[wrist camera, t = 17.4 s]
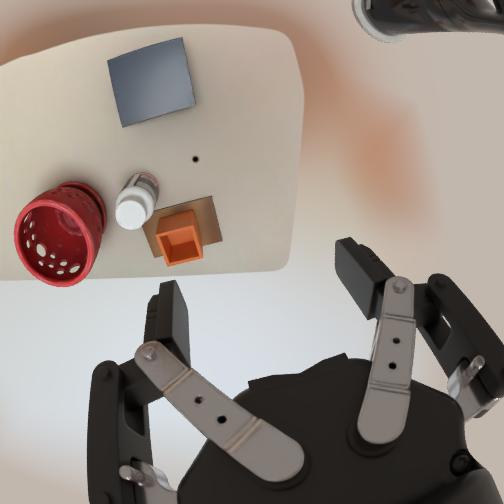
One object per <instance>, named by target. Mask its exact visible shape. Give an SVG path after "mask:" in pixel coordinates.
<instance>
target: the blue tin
mask: <svg viewBox="0 0 504 504" xmlns="http://www.w3.org/2000/svg"><path fill="white" fill-rule="evenodd" d="M107 62H108V67H109V72H110V77H111V82H112V86H113V91H114V95H115V100H116V104H117V108H118V112H119V116H120V120H121V124H122V128H123V127H126V126H129V125H132V124H135V123H138V122H141V121H144V120H147V119H150V118H154V117H157V116H160V115H164V114H167V113H171V112H175V111H178V110H182V109H186V108H190V107H194V106H196V103H195V99H194V94H193V89H192V84H191V79H190V74H189V69H188V64H187V59H186V54H185V49H184V44H183V38H182V37H181V38H177V39H173V40H169V41H165V42H161V43H158V44H154V45H151V46H147V47H144V48H141V49H138V50H135V51H132V52H129V53H126V54H123V55H121V56H118V57H115V58H113V59H110V60H108V61H107Z"/></svg>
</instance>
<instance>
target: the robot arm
mask: <svg viewBox="0 0 504 504" xmlns="http://www.w3.org/2000/svg"><path fill="white" fill-rule="evenodd" d="M493 3H494V5H495V7H496V9H495V8H494V7H493V6H492V5H491V4H490V3H489V2H488V1H487V0H362V2H361V7H362V11H363V14H364V16H365V18H366V20H367V21H368V23H369V24H370V25H371V26H372V27H373V28H374V29H375V30H377V31H378V32H380V33H381V34H383V35H386V36H397V35H403V34H414V33H427V32H485V33H497V34H504V0H493ZM335 269H336V273H337V275H338V277H339V279H340V280H341V281H342V283H343V284H344V286H345V287H346V289H347V290H348V292H349V293H350V295H351V296H352V297H353V299H354V301H355V302H356V304H357V305H358V306H359V308H360V309H361V311H362V313H363V314H364V315H365V317H366V318H367V320H370V319H372V318H376V319H377V324H376V330H375V335H374V340H373V345H372V349H371V354H370V358H369V360H365V359H358V358H353V359H352V358H351V359H348V357H347V356H346V354H345V353H342V354H339V355H336V356H333V357H331V358H328V359H325V360H322V361H320V362H319V363H317V364H315V365H314V366H312V367H310V368H309V369H307V370H305V371H303V372H301V373H298V374H284V375H271V376H267V377H263V378H259V379H255V380H251V381H248V384H249V388H248V389H246V390H244V391H243V392H241V393H239V394H238V395H237V396H236V397H235V398H234V399H233V400H232V399H230V398H229V397H228V396H226V395H225V394H224V393H223V392H221V391H220V390H219V389H217V388H216V387H215V386H214V385H212V384H211V383H210V382H208V381H207V380H206V379H205V378H204V377H202V376H201V375H200V374H199V373H198V372H197V371H195V370H194V369H193V368H191V362H190V344H189V321H188V310H187V306H186V303H185V301H184V298H183V296H182V293H181V291H180V288H179V286H178V284H177V282H176V280H171V281H167V282H163V283H160V288H159V294H157V295H153V296H152V298H151V299H150V301H149V303H148V307H147V315H146V324H145V332H144V333H145V334H144V342H143V344H142V345H141V346H140V347H139V348H138V349H137V351H136V353H135V356H134V358H133V359H131V360H129V361H127V362H125V363H123V364H120V365H117V364H116V363H115V362H114V361H110V360H108V361H104V362H102V363H100V364H98V365H97V367H96V368H95V369H94V371H93V374H92V381H91V390H90V400H89V412H88V430H87V431H88V432H87V479H88V496H89V502H90V504H503V502H502V499H501V496H500V494H499V492H498V489H497V487H496V485H495V482H494V480H493V478H492V476H491V474H490V473H489V471H487V470H486V469H485V468H484V467H483V466H482V465H481V464H479V463H478V462H477V461H476V460H475V459H474V458H473V457H472V455H471V454H470V453H469V451H468V449H467V445H466V440H465V431H464V424H465V423H466V422H468V421H469V420H470V419H472V418H480V417H482V416H483V415H484V414H485V413H486V412H488V411H489V410H490V409H491V408H492V407H493V406H494V405H495V404H497V403H498V402H499V400H501V399H502V398H503V397H504V345H503V343H502V342H501V340H500V339H499V338H498V336H497V335H496V334H495V332H494V331H493V330H492V328H491V327H490V326H489V324H488V323H487V322H486V320H485V319H484V318H483V317H482V315H481V314H480V313H479V312H478V310H477V309H476V308H475V307H474V306H473V304H472V303H471V302H470V300H469V299H468V298H467V297H466V296H465V295H464V294H463V292H462V291H461V290H460V289H459V288H458V287H457V285H456V284H455V283H454V282H453V281H452V280H451V279H450V278H449V277H448V276H446V275H444V274H438V273H437V274H433V275H431V276H430V277H429V279H428V282H427V283H425V284H413V283H412V282H411V281H410V280H408V279H407V278H404V277H399V276H395V275H394V274H393V273H392V272H391V271H390V269H389V268H388V267H387V266H386V265H385V264H384V263H383V262H382V261H380V259H379V258H378V256H376V254H375V253H374V252H373V251H372V250H371V249H370V248H368V247H366V246H364V245H362V244H360V245H358V244H357V243H356V242H355V241H354V240H353V239H352V238H351V237H348V238H344V239H340V240H337V241H336V243H335ZM442 316H444V317H445V318H446V320H447V321H448V322H449V324H450V326H451V328H450V327H449V326H448V325H447V323H446V322H445V320H444V319H443V317H442ZM416 328H418V330H419V331H420V333H421V334H422V336H423V338H424V339H425V341H426V342H427V344H428V346H429V347H430V349H431V350H432V352H433V354H434V355H435V357H436V359H437V360H438V362H439V364H440V365H441V367H442V369H443V370H444V372H445V374H446V375H447V377H448V382H447V389H448V394H445V393H443V392H440V391H438V390H436V389H433V388H431V387H429V386H426V385H424V384H422V383H419V382H417V381H415V380H412V379H411V375H412V366H413V358H414V348H415V335H416ZM189 368H190V369H189ZM161 397H165V398H166V399H167V400H168V401H169V402H170V403H171V404H172V405H173V406H174V407H175V408H176V409H177V410H178V411H179V412H180V413H181V414H182V415H183V416H184V417H185V418H186V419H187V420H188V421H189V422H190V423H191V424H192V425H194V426H195V427H196V428H197V429H198V430H199V431H200V432H201V433H202V434H203V435H204V436H205V437H206V438H208V439H207V441H206V442H205V444H204V445H203V447H202V449H201V450H200V452H199V454H198V455H197V457H196V458H195V460H194V461H193V463H192V465H191V467H190V468H189V469H188V471H187V472H186V474H185V476H184V477H183V479H182V480H181V482H180V484H179V486H178V489H177V491H175V490H174V489H172V488H171V486H170V485H169V483H168V480H167V477H166V475H165V474H164V473H163V472H162V471H161V470H159V469H157V468H155V467H153V459H152V450H151V440H150V429H149V415H148V404H149V403H151V402H153V401H155V400H157V399H160V398H161Z"/></svg>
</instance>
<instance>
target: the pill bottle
mask: <svg viewBox="0 0 504 504" xmlns="http://www.w3.org/2000/svg"><path fill="white" fill-rule="evenodd" d="M158 194H159V185H158V183H157V181H156V179H155V178H154V177H153V176H151V175H149V174H146V173H138V174H135V175H134V176H132V177H131V178H130V179H129V180H128V182H127V183H126V185H125V186H124V188H123V189H122V191H121V192H120V193H119V195H118V197H117V199H116V204H115V208H116V212H115V216H116V220H117V222H118V223H119V225H120V226H122V227H123V228H125V229H128V230H135V229H138V228H140V227H141V226H142V225H143V224H144V222H146V221H147V220H148V219H149V218H150V217H151V216H152V214H153V212H154V208H155V205H156V202H157V198H158Z"/></svg>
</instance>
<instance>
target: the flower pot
mask: <svg viewBox="0 0 504 504" xmlns="http://www.w3.org/2000/svg"><path fill="white" fill-rule="evenodd" d="M28 214H29V215H28ZM27 215H28V217H27V219H26V221H25V222H24V220H25V218H26V216H27ZM31 221H32V227H31V228H30V223H31ZM105 227H106V211H105V207H104V205H103V202H102V200H101V199H100V197H99V196H98V195H97V193H96V192H95V191H94V190H93V189H91V188H90V187H89V186H87V185H85V184H83V183H79V182H66V183H63V184H61V185H59V186H57V187H56V188H54V189H51V190H48V191H46V192H44V193H42V194H41V195H39V196H38V197H36V198H35V199H33V200H32V201H31V202H30V203H29V204H28V205H26V206H25V207H24V208H23V210H22V211H21V212H20V214H19V216H18V218H17V220H16V223H15V228H14V242H15V246H16V250H17V253H18V255H19V258H20V259H21V261H22V263H23V264H24V266H25V267H26V269H27V270H28V271H29V272H30V273H31V274H32V275H34V276H35V277H36V278H37V279H39V280H41V281H42V282H44V283H46V284H49V285H52V286H56V287H69V286H73V285H75V284H77V283H79V282H81V281H82V280H83V279H84V278H85V277H86V276H87V275H88V273H89V272H90V270H91V268H92V266H93V264H94V262H95V259H96V257H97V254H98V251H99V248H100V244H101V239H102V235H103V233H104V230H105ZM24 230H25V233H24ZM32 234H33V235H34V240H32ZM27 240H28V241H29V244H30V247H29V248H28V247H27V244H26V243H27ZM38 244H41V245H42V246H43V247H44V248H45V251H46V255H45V256H44V257H42V256H40V255H39V254H38V253H37V250H36V249H37V245H38ZM50 255H54V256H55V258H51V257H50ZM39 261H41V262H42V263H43V266H41V265H40V264H39ZM61 262H67V265H65V266H61V265H60V263H61ZM49 265H53V266H54V267H53V268H50V267H49ZM75 266H80V268H79V269H78V270H77V271H76V272H74V273H70V272H69V271H70V269H71V268H73V267H75ZM58 271H64V273H63V274H57V272H58Z"/></svg>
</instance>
